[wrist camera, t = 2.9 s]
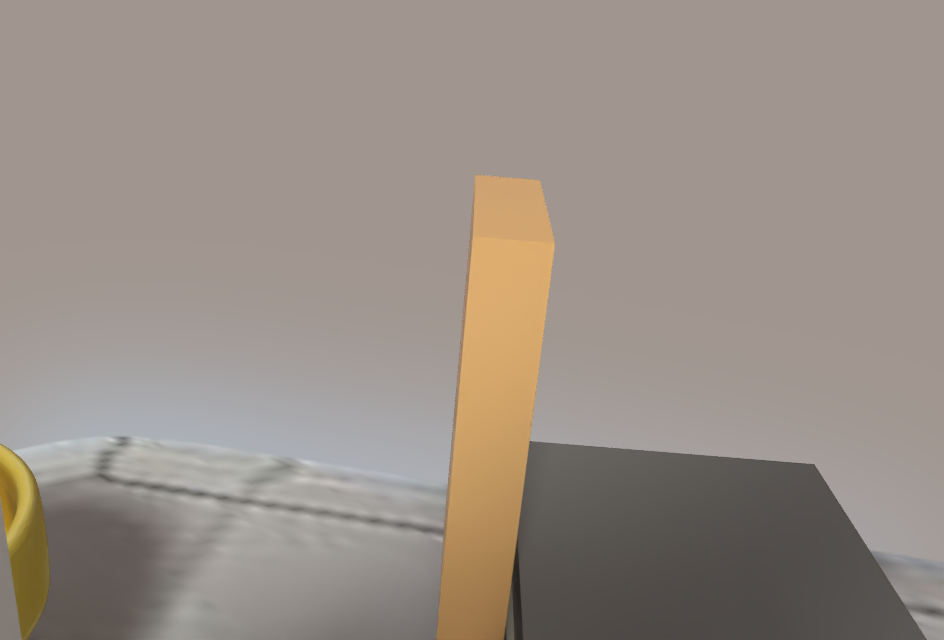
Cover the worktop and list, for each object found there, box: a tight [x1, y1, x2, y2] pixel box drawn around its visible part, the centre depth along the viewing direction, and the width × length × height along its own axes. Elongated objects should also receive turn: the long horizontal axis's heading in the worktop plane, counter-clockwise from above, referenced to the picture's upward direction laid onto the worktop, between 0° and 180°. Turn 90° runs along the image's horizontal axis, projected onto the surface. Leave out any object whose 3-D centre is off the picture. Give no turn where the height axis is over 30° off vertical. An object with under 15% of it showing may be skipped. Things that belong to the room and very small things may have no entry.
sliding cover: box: [437, 175, 555, 640], centre depth 23 cm, size 9×2×18 cm, turn 179°
